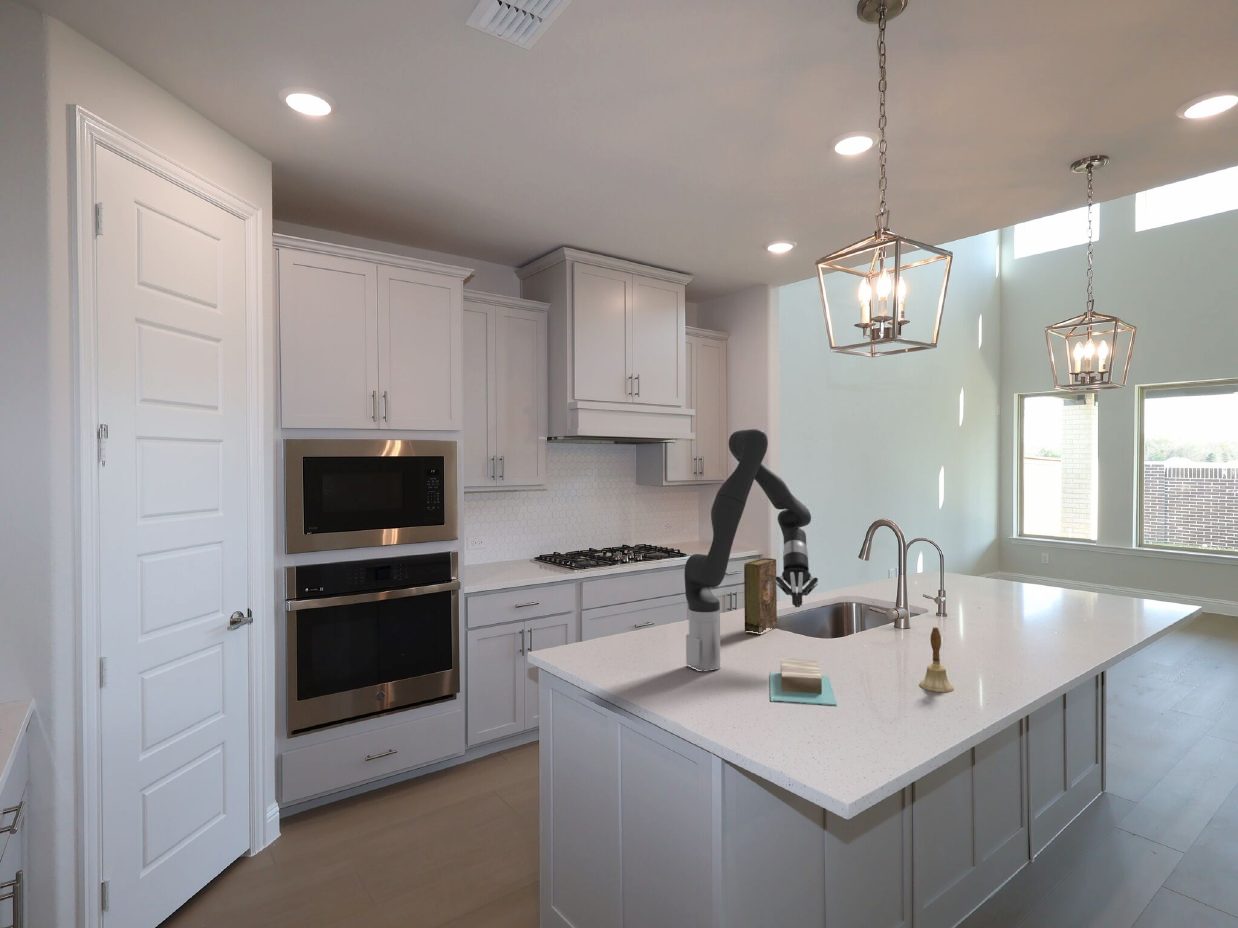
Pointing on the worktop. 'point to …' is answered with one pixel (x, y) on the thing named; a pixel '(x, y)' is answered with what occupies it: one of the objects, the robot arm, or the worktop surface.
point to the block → (800, 676)
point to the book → (760, 595)
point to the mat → (801, 697)
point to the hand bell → (936, 668)
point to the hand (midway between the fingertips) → (797, 605)
